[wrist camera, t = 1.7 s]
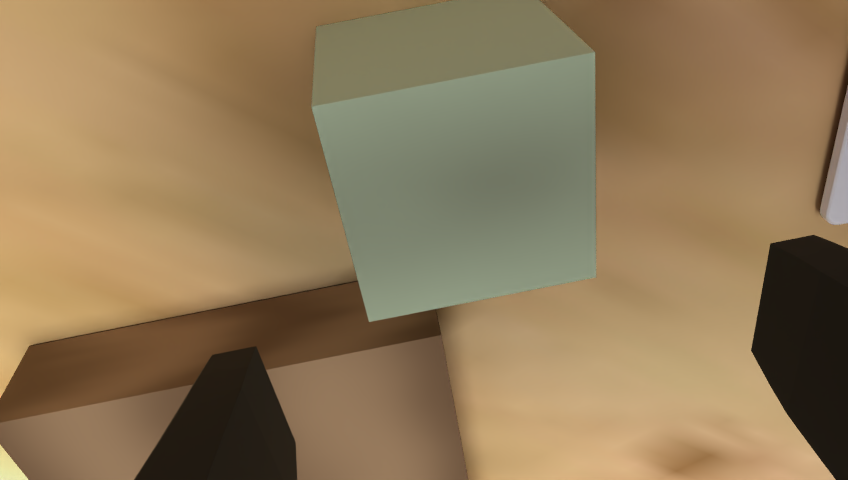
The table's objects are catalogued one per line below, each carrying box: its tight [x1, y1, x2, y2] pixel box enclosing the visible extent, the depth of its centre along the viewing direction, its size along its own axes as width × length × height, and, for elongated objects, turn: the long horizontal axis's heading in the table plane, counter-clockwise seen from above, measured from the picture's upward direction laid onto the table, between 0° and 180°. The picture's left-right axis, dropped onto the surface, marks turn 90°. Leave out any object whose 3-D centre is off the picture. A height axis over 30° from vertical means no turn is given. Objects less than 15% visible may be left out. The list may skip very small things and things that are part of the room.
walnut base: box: [0, 282, 468, 480], centre depth 22 cm, size 12×12×3 cm
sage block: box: [311, 0, 596, 322], centre depth 15 cm, size 5×5×5 cm
